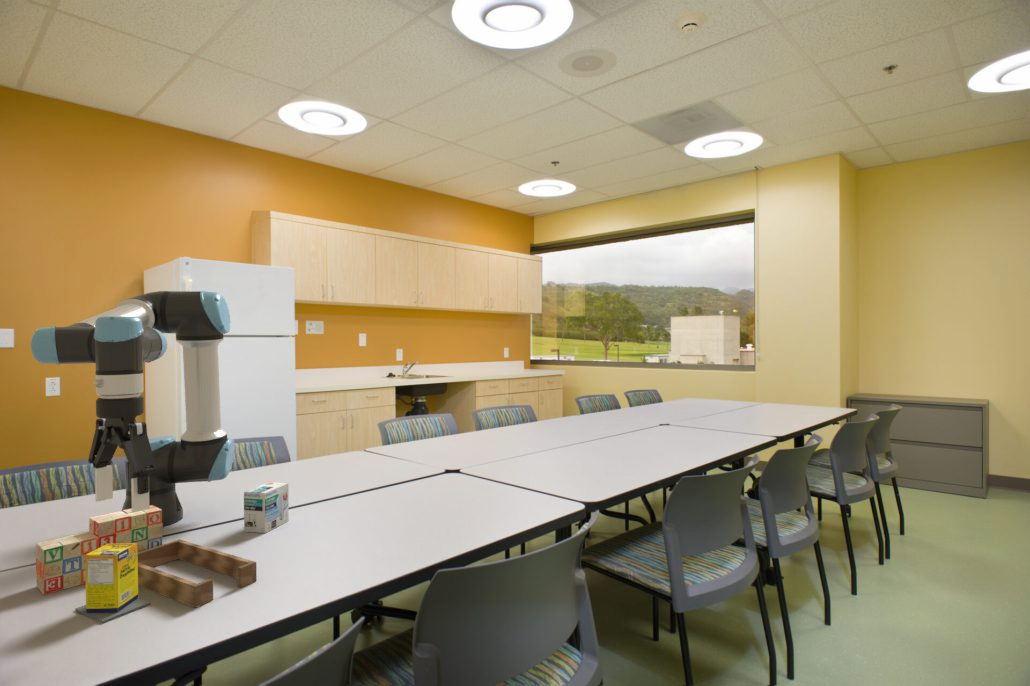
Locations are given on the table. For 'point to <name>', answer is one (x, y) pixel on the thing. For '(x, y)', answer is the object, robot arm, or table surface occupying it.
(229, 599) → the table surface
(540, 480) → the table surface
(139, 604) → the mat
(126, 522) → the stack of blocks
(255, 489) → the light bulb box
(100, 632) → the table surface
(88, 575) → the supplement box
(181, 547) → the open wooden frame
